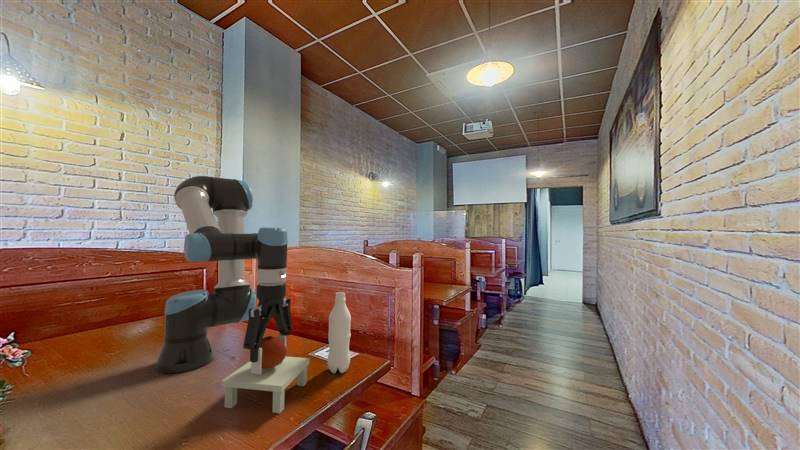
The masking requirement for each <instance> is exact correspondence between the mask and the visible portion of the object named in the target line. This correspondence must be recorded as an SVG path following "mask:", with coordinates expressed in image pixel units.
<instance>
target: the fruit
mask: <svg viewBox="0 0 800 450" xmlns="http://www.w3.org/2000/svg"><path fill="white" fill-rule="evenodd" d="M260 348H262V369H266V368H270V367H274V366H276V365H278V364H279V363H281V362H282V361H283V360H284V358H285V356H286V357H287V352H288V351H287V345H286V346H285V344H284V343H283V341H281V340H280V339H278V338H277V337H275V336H271V335H268V336H264V337H263V339H262V342H261V345H260Z"/></svg>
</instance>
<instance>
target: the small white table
mask: <svg viewBox="0 0 800 450" xmlns="http://www.w3.org/2000/svg"><path fill="white" fill-rule="evenodd" d="M310 359H311V358H309V357H308V358H306V357H297V356H296V357H295V356H286V359H284V360H283V361H282V362H281V363H279V364H278V365H276V366H274V367H270V368H266V369H262V372H261V374H260V375H259V374H254V373H251V362H250V360H249V361H248V362H247V363H245V364H243V365H242V366H240V367H239V368H237V370H235V371H233V372H231V374H229V375H228V376H227V377H225V378H224V379H222V380H221V387H224V408H227V409H233V408H234V407H235V406H236V405H237V403H238V389H244V390H254V391H255V390H256V391H265V392H272V413H274V414H281V413H282V412H283V411H284V410H285V392H286V391H285V390H286V388H287V387H288V386H289V385H290V384H291V383H292V382H293V381H294V380H295V379H296V378H297V380H296V381H297V382H296V386H297V385H298V387H305V385H307V383H308V377H307V376H308V366H309V364H310Z"/></svg>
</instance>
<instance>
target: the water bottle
mask: <svg viewBox="0 0 800 450" xmlns="http://www.w3.org/2000/svg"><path fill="white" fill-rule="evenodd" d="M346 300H347V298H346V292H344V291H337V292H335V298H334V305H333V307H332V309H331V311H330V313H329V316H328V335H327V339H328V345H329V346H328V356H327V367H328V368H329V371H330V372H331V374H336V373H337V372H339V373H340V374H344V373H345V372H347V370H348V369H349V367H350V363H351V356H350V340H351V336H352V334H351V320H352V316H351V313H350V310H349V308H348V306H347V304H346Z"/></svg>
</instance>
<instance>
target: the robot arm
mask: <svg viewBox="0 0 800 450" xmlns="http://www.w3.org/2000/svg"><path fill="white" fill-rule="evenodd" d="M173 197H174V201H175V204H176V206H177V207H178V208H179V210H181V213H182V215H183V217H184V221H185V225H186V226H187V230H188V234H187V235H186V236H184V237H185V238H184V241H183V242H184V243H183V253H184V258H185V260H186V261H188V262H192V263H193V262H194V263H195V262H199V263H200V262H201V263H205V262H206V263H207V262H217V264H218V265H217V267H218V270H217V271H218V282H217V284H216V285H215V286H214V287H213V292H211V293H210V292H209V290H207V289H193V290H188V291H182V292H179V293H177V294H174V295H171V296H170V297H169V298H168V299H167V300H166V301H165V309H164V312H163V313H164V315H165V316H164V335H163V337H164V338H163V341H164V342H163V345H162V347H161V350H160V352H159V355H158V358H157V360H156V365H155V366H156V367H155V368H156V371H157V372H159V373H163V374H177V373H178V374H179V373H184V372H188V371H192V370H196V369H199V368H201V367H204V366H205V365H208V364H209V363H210V362H211V361H212V360H213V349H212V347H211V344H210V341H209V338H208V329H210V328H213V327H214V328H215V327H219V326H224V325H231V324H238V323H242V322H246V321H247V325H246V330H245V336H244V341H243V345H242V347H243V349H246V350H249V361H250V362H251V373H254V374H259V375H260V374H261V372H262V348H260V345H261V342H262V339H263V338H264V337H265V333H266V330H267V327H268V324H269V323H270V322H271V321H272V318H273V320H274V322H275V325H276V328H277V331H278V332H279V334H277V335H276V338H278V339H280V340H281V341H283V343H284V344H285V346H286V347H287V345H288V336H291V333H292V331H293V329H294V327H293V319H292V313H291V301H292V300H291V298H285V297H286V296H287V284H286V282H287V267H288V266H287V262H288V243H289V239H288V230H287V228H284V227H260V228H259V229H258V232H257V233H256V232H254V233H245V232H244V230H245V229H244V226H245V225H244V218H245V217H246V216H247V215H248V211H250V210H252V208H253V202H254V196H253V191H252V187H251V186H250V184H249V183H248V182H246V181H245V180H239V179H236V178H225V177H216V176H215V177H214V176H208V175H197V176H191V177H189V178H187V179H185V180H183V181H182V182H181V183H180V184H178V186H177V187H176V188H175V190H174V194H173ZM215 217H216V218H217V220H216V218H215ZM245 260H257V263H256V264H257V266H256V283H257V285H256V289H254V288H252V287H251V286H250V285H251V284H250V283H249V282H248V281H247V280H246V268H245V266H246V265H245ZM257 299H258V304H257ZM256 305H257V306H256ZM286 357H287V355H286V356H285V358H284V359H286Z"/></svg>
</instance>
